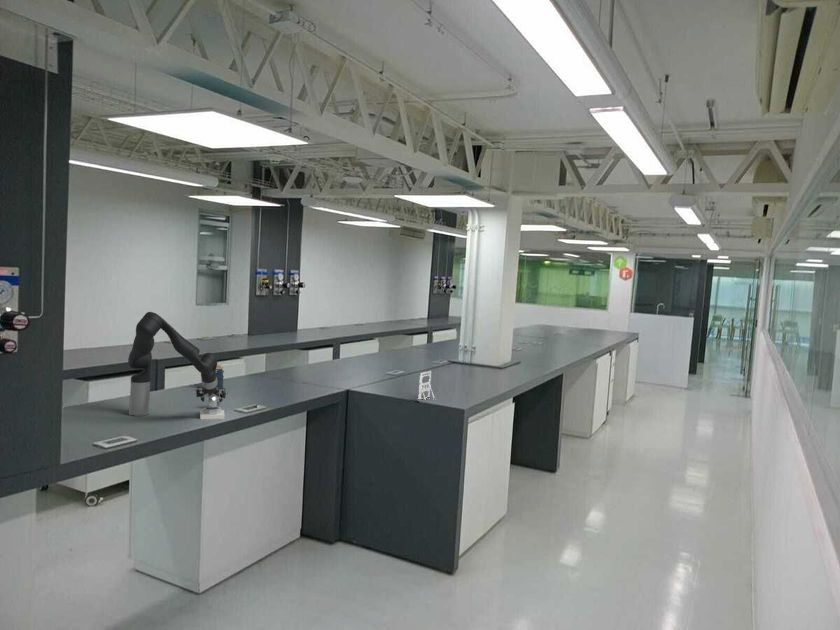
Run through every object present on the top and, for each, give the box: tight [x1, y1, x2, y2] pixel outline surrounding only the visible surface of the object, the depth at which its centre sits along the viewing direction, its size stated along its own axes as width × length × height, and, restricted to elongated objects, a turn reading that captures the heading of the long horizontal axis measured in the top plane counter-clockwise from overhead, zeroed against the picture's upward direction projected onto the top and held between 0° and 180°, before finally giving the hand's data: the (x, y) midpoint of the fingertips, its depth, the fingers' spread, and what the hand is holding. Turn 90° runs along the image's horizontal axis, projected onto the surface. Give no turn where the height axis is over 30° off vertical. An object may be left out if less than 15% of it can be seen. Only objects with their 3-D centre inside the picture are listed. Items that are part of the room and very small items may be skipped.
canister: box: [216, 364, 225, 389], centre depth 391 cm, size 13×13×18 cm
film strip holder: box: [417, 370, 435, 400], centre depth 397 cm, size 14×14×20 cm
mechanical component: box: [217, 390, 228, 407], centre depth 338 cm, size 3×10×10 cm, turn 134°
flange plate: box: [199, 406, 226, 420], centre depth 322 cm, size 12×12×4 cm
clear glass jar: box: [206, 395, 217, 409], centre depth 321 cm, size 5×5×10 cm
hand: (212, 400), depth 317 cm, fingers open, 8 cm apart
